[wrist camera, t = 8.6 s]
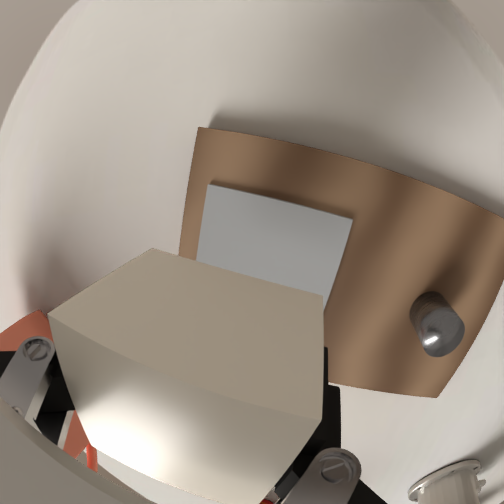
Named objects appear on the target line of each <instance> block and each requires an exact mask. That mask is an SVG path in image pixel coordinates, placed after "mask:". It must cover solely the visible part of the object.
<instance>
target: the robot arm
mask: <svg viewBox="0 0 504 504" xmlns="http://www.w3.org/2000/svg"><path fill="white" fill-rule="evenodd" d="M74 410H75V407H74V404H73V402H72V399H71V396H70V394H69V391H68V388H67V385H66V382H65V379H64V376H63V373H62V370H61V366H60V363H59V360H58V356H57V353H56V349H55V345H54V343H53V342H52V341H51V340H50V339H49V338H46V337H43V336H33V337H30V338H28V339H26V340H25V341H23V343H22V344H21V345H20V346H19V348H18V350H17V351H0V504H157V503H154V502H152V501H150V500H148V499H145V498H143V497H141V496H139V495H137V494H135V493H133V492H131V491H129V490H127V489H125V488H123V487H121V486H119V485H117V484H115V483H114V482H112V481H110V480H108V479H106V478H105V477H103V476H101V475H100V474H98V473H96V472H95V471H93V470H91V469H90V468H88V467H87V466H85V465H84V464H82V463H81V462H79V461H78V460H76V459H75V458H73V457H72V456H70V455H69V454H67V453H66V452H65V451H63V448H64V444H65V440H66V437H67V433H68V429H69V426H70V422H71V419H72V415H73V412H74ZM480 468H481V466H480V462H479V461H477V460H466V461H462V462H459V463H456V464H453V465H450V466H448V467H445V468H443V469H441V470H439V471H437V472H434V473H432V474H431V475H429V476H427V477H425V478H423V479H422V480H420V481H419V482H417V483H416V484H415V485H414V486H413V487H411V489H410V490H409V492H408V498H409V500H411V501H415V502H418V504H480V503H479V498H478V493H479V492H480V491H481V487H482V486H484V485H485V483H486V480H485V479H483V480H479V481H478V479H477V474H478V472H479V471H480ZM360 475H361V464H360V462H359V460H358V458H357V457H356V456H355V455H354V454H353V453H351V452H349V451H348V450H345V449H342V448H341V405H340V388H339V387H337V386H332V385H328V348H327V347H324V369H323V405H322V420H321V422H320V423H319V425H318V426H317V428H316V430H315V431H314V433H313V434H312V436H311V437H310V438H309V440H308V441H307V443H306V444H305V446H304V447H303V449H302V450H301V451H300V453H299V454H298V456H297V457H296V458H295V460H294V461H293V462H292V464H291V465H290V466H289V468H288V469H287V470H286V472H285V473H284V474H283V475H282V477H281V478H280V479H279V481H278V482H277V483H276V484H275V485H274V486H275V491H274V492H275V493H276V494H277V495H278V496H279V499H278V500H277V502H276V503H275V504H387V503H386V502H385V501H384V500H382V499H381V498H380V497H379V496H378V495H377V494H376V493H374V492H373V491H372V490H371V489H370V488H369V487H368V486H367V485H366V484H364V483H363V482H362V481H361V480H360V479H359V478H360Z"/></svg>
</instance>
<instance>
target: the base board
mask: <svg viewBox="0 0 504 504" xmlns="http://www.w3.org/2000/svg"><path fill="white" fill-rule="evenodd" d="M208 184H213V185H218V186H223V187H227V188H232V189H237V190H241V191H246V192H250V193H254V194H259V195H263V196H267V197H271V198H275V199H280V200H284V201H288V202H292V203H296V204H300V205H303V206H307V207H311V208H315V209H319V210H322V211H326V212H330V213H333V214H337V215H341V216H344V217H348V218H351V219H353V222H352V225H351V229H350V232H349V236H348V239H347V242H346V246H345V249H344V252H343V255H342V258H341V262H340V265H339V268H338V271H337V274H336V277H335V280H334V283H333V286H332V289H331V292H330V295H329V297H328V300H327V303H326V306H325V309H324V311H323V323H324V347H327V348H328V382H331V383H335V384H340V385H346V386H351V387H357V388H362V389H368V390H374V391H381V392H388V393H395V394H403V395H411V396H420V397H431V398H437V397H438V396H439V394H440V393H441V392H442V390H443V389H444V388H445V386H446V385H447V383H448V382H449V380H450V379H451V377H452V376H453V375H454V373H455V372H456V370H457V368H458V367H459V365H460V364H461V362H462V361H463V359H464V357H465V356H466V354H467V352H468V351H469V349H470V347H471V346H472V344H473V342H474V340H475V339H476V337H477V335H478V333H479V331H480V329H481V328H482V326H483V324H484V322H485V320H486V318H487V316H488V314H489V312H490V310H491V308H492V305H493V303H494V301H495V299H496V297H497V294H498V292H499V290H500V287H501V285H502V283H503V280H504V218H502V217H500V216H498V215H496V214H494V213H492V212H490V211H488V210H486V209H484V208H482V207H480V206H478V205H476V204H474V203H471V202H469V201H467V200H465V199H463V198H460V197H458V196H456V195H453V194H451V193H449V192H446V191H444V190H442V189H439V188H437V187H434V186H432V185H429V184H426V183H424V182H421V181H419V180H416V179H413V178H411V177H408V176H405V175H402V174H399V173H397V172H394V171H391V170H388V169H385V168H382V167H379V166H375V165H372V164H369V163H366V162H363V161H359V160H356V159H353V158H349V157H346V156H342V155H338V154H335V153H331V152H327V151H323V150H319V149H315V148H311V147H307V146H303V145H299V144H294V143H290V142H285V141H280V140H276V139H271V138H266V137H260V136H255V135H249V134H244V133H238V132H231V131H225V130H218V129H211V128H203V127H198V131H197V137H196V142H195V147H194V153H193V158H192V164H191V170H190V176H189V182H188V188H187V195H186V201H185V208H184V215H183V223H182V231H181V239H180V247H179V256H181V257H184V258H188V259H191V260H194V261H196V257H197V250H198V243H199V236H200V229H201V223H202V216H203V210H204V204H205V198H206V192H207V186H208ZM429 291H436V292H439V293H441V294H442V295H443V297H444V298H445V299H446V300H447V301H448V303H449V304H450V305H451V307H452V308H453V309H454V310H455V312H456V313H457V314H458V316H459V317H460V318H461V319H462V321H463V322H464V325H465V333H464V337H463V339H462V341H461V343H460V344H459V345H458V347H457V348H456V349H455V350H453V351H452V352H451V353H449V354H447V355H445V356H442V357H431V356H429V355H428V354H427V353H426V352H425V350H424V348H423V346H422V344H421V342H420V340H419V338H418V336H417V333H416V331H415V329H414V327H413V325H412V323H411V321H410V318H409V312H410V308H411V306H412V304H413V302H414V301H415V300H416V299H417V298H418V297H419V296H420V295H422V294H423V293H426V292H429Z"/></svg>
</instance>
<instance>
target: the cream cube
mask: <svg viewBox="0 0 504 504" xmlns="http://www.w3.org/2000/svg"><path fill="white" fill-rule="evenodd" d="M47 315H48V320H49V324H50V329H51V333H52V337H53V341H54V345H55V349H56V353H57V356H58V360H59V363H60V366H61V370H62V373H63V376H64V379H65V382H66V385H67V388H68V391H69V394H70V396H71V399H72V402H73V404H74V407H75V409H76V412H77V414H78V417H79V419H80V422H81V424H82V426H83V429H84V431H85V433H86V435H87V437H88V440H89V442H90V444H91V446H93V447H95V448H96V449H98V450H100V451H101V452H103V453H105V454H107V455H108V456H110V457H112V458H114V459H115V460H117V461H119V462H121V463H123V464H125V465H127V466H129V467H131V468H133V469H135V470H137V471H139V472H141V473H143V474H145V475H147V476H149V477H152V478H154V479H156V480H158V481H161V482H163V483H166V484H168V485H171V486H173V487H176V488H178V489H181V490H183V491H186V492H189V493H192V494H195V495H198V496H201V497H204V498H207V499H210V500H213V501H217V502H220V503H224V504H259V503H260V502H261V501H262V500H263V499H264V497H265V496H266V495H267V494H268V493H269V492H270V490H271V489H272V488H273V487H274V485H275V484H276V483H277V482H278V481H279V479H280V478H281V477H282V475H283V474H284V473H285V472H286V470H287V469H288V468H289V466H290V465H291V464H292V462H293V461H294V460H295V458H296V457H297V456H298V454H299V453H300V451H301V450H302V449H303V447H304V446H305V444H306V443H307V441H308V440H309V438H310V437H311V436H312V434H313V433H314V431H315V430H316V428H317V426H318V425H319V423H320V422H321V420H322V405H323V369H324V323H323V296H322V295H318V294H315V293H311V292H307V291H303V290H299V289H296V288H292V287H288V286H284V285H281V284H277V283H273V282H269V281H266V280H262V279H258V278H255V277H251V276H247V275H244V274H240V273H237V272H233V271H230V270H226V269H222V268H219V267H215V266H212V265H208V264H205V263H201V262H198V261H194V260H191V259H188V258H184V257H181V256H177V255H174V254H170V253H167V252H164V251H160V250H157V249H154V248H152V249H150V250H148V251H146V252H145V253H143V254H141V255H140V256H138V257H136V258H134V259H133V260H131V261H129V262H128V263H126V264H124V265H123V266H121V267H119V268H118V269H116V270H115V271H113V272H111V273H110V274H108V275H106V276H105V277H103V278H102V279H100V280H98V281H97V282H95V283H94V284H92V285H90V286H89V287H87V288H86V289H84V290H82V291H81V292H79V293H78V294H76V295H75V296H73V297H72V298H70V299H69V300H67V301H65V302H64V303H62V304H61V305H59V306H58V307H56V308H55V309H53V310H52V311H50V312H49V313H47Z"/></svg>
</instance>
